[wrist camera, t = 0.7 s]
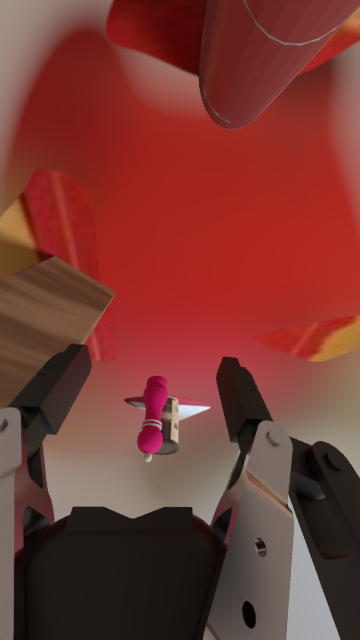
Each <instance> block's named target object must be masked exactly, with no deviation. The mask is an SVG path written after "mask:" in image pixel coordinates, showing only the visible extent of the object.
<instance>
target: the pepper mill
mask: <svg viewBox="0 0 360 640" xmlns="http://www.w3.org/2000/svg"><path fill="white" fill-rule="evenodd" d="M166 388H167V381H166V379H165V378H163V377H161V376H153V377H150V378H149V379H148V381H147V388H146V389H145V390H144V395H143V399H144V404H145V408H146V417H145V420H144V421H143V424H142V431H141V432H140V434H139V436H138V440H137V444H138V448H139V449H140V451H142V452H143V453H145V455H144V460H145V461H146V462H149V461H150V460H151V459H152V454H153V453H155V452H157V451H158V450H159V449H160V447H161V445H162V441H163V436H162V433H161V432H160V430H161V426H162V423H161V422H160V417H161V412H162V409H163V407H164V405H165V403H166V401H167V398H168V392H167V390H166Z"/></svg>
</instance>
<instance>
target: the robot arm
mask: <svg viewBox="0 0 360 640" xmlns="http://www.w3.org/2000/svg"><path fill="white" fill-rule="evenodd" d="M359 7H360V0H208V1H207V8H206V15H205V22H204V29H203V36H202V43H201V50H200V58H199V73H198V74H199V88H200V92H201V97H202V101H203V104H204V106H205V109H206V111H207V112H208V114H209V116H210V117H211V119H212V120H213V121H214V122H215V123H216V124H217V125H219V126H221V127H223V128H225V129H230V130H233V129H240V128H242V127H245V126H247V125H248V124H250V123H251V122H252V121H254V120H255V119H256V118H257V117H258V116H259V115H260V114H261V112H262V111H263V110H264V109H265V108H266V107H267V106H268V105H269V104H270V103H271V102H272V101H273V100H274V99H275V98H276V97H277V96H278V95H279V93H280V92H281V91H282V90H283V89H284V88H285V87H286V86H287V85H288V84H289V83H290V82H291V81H292V80H293V78H294V77H295V76H296V75H297V74H298V73H299V72H300V71H301V70H302V69H303V68H304V67H305V65H306V64H307V63H308V62H309V61H310V60H311V59H312V58H313V57H314V56H315V55H316V54H317V52H318V51H319V50H320V49H321V48H322V47H323V46H324V45H325V44H326V43H327V42H328V41H329V40H330V38H331V37H332V36H333V35H334V34H335V33H336V32H337V31H338V30H339V29H340V28H341V27H342V25H343V24H344V23H345V22H346V21H347V20H348V19H349V18H350V17H351V16H352V15H353V14H354V12H355V11H356V10H357V9H358V8H359ZM91 367H92V363H91V358H90V354H89V350H88V346H87V345H84V344H70V345H69V346H68V347H67V349H66V350H65V351H64V352H59V353H57V354H56V355H54V356H53V357H51V358H50V359H49V360H48V361H47V362H46V363H45V364H44V365H43V367H42V369H40V370H39V371H38V372H37V373H36V376H34V377H33V378H32V379H31V380H30V381H29V383H28V384H27V385H26V386H25V387H24V388H23V389H22V391H21V392H20V393H19V394H18V395H17V396H16V397H15V399H14V400H13V401H12V402H11V403H10V404H9V405H8V406H7V407H6V408H3V409H0V640H286V632H287V618H288V603H289V590H290V577H291V562H292V548H293V535H294V517H293V513H292V511H291V510H290V509H289V507H288V501H287V500H288V494H289V497H290V500H291V503H292V505H293V508H294V511H295V514H296V516H297V519H298V522H299V525H300V528H301V531H302V533H303V536H304V539H305V541H306V544H307V547H308V550H309V553H310V556H311V558H312V561H313V564H314V566H315V569H316V572H317V575H318V578H319V581H320V583H321V586H322V589H323V592H324V595H325V598H326V600H327V603H328V606H329V609H330V611H331V614H332V617H333V620H334V623H335V625H336V628H337V631H338V634H339V637H340V639H341V640H360V478H359V476H358V475H357V473H356V472H355V470H354V469H353V467H352V465H351V464H350V462H349V461H348V460H347V458H346V457H345V456H344V455H343V454H342V453H341V452H340V451H339V450H338V449H337V448H335V447H334V446H332V445H330V444H329V443H326V442H323V441H318V442H316V443H314V444H313V445H309V444H307V443H304V442H302V441H299V440H297V439H294V438H292V437H289V436H288V434H287V433H286V432H285V430H284V429H283V428H281V427H280V426H279V425H278V424H276V423H274V422H273V420H272V418H271V416H270V414H269V411H268V409H267V407H266V405H265V403H264V401H263V398H262V396H261V394H260V392H259V391H258V388H257V385H256V384H255V381H254V379H253V377H252V375H251V373H250V372H249V371H248V370H247V369H246V368H245V367H241V366H240V364H239V362H238V359H237V358H233V357H223V358H222V361H221V364H220V366H219V369H218V372H217V377H216V380H217V386H218V391H219V395H220V399H221V403H222V408H223V411H224V416H225V420H226V425H227V428H228V433H229V437H230V441H231V442H236V443H238V444H239V448H240V450H239V452H238V455H237V457H236V460H235V463H234V466H233V469H232V472H231V475H230V477H229V480H228V483H227V486H226V489H225V491H224V493H223V496H222V497H221V499H220V502H219V503H218V506H217V508H216V511H215V513H214V516H213V519H212V522H211V524H210V526H209V525H208V524H207V523H206V522H205V521H204V520H202V519H201V518H199V517H197V516H195V515H193V513H192V507H163V508H160V509H158V510H155V511H153V512H150V513H148V514H145V515H143V516H140V517H137V518H134V519H132V518H128V517H126V516H124V515H122V514H119V513H117V512H115V511H112V510H110V509H108V508H105V507H73V508H72V511H71V514H70V515H68V516H66V517H64V518H62V519H60V520H58V521H56V522H55V521H54V520H55V519H54V511H53V505H52V501H51V498H50V495H49V493H48V488H47V481H46V471H45V463H44V453H43V444H42V442H43V440H44V438H45V437H46V435H47V434H54V435H56V434H57V433H58V431H59V429H60V427H61V425H62V423H63V421H64V420H65V418H66V416H67V414H68V412H69V411H70V408H71V407H72V405H73V403H74V401H75V400H76V398H77V395H78V394H79V392H80V390H81V388H82V386H83V385H84V383H85V381H86V379H87V377H88V376H89V374H90V371H91Z"/></svg>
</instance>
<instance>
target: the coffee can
mask: <svg viewBox="0 0 360 640" xmlns="http://www.w3.org/2000/svg"><path fill="white" fill-rule="evenodd" d="M178 403H179V402H178V400H177V399H176V398H175V397H173V396H169V395H168V398H167V401H166V403H165V405H164V407H163V409H162V412H161V417H160V422H161V423H162V426H161V430H160V432H161V433H162V436H163V441H162V445H161V447H160V449H159V450H158V451H157V452H155V453H153V454H156V455H169V454H173V453H175V452H177V451H178Z"/></svg>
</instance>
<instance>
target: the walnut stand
mask: <svg viewBox="0 0 360 640" xmlns="http://www.w3.org/2000/svg"><path fill="white" fill-rule="evenodd" d="M115 293H116V292H115V291H113V290H111V289H109V288H107V287H106V286H105V285H103V284H101V283H100V282H98V281H96V280H95V279H93V278H91V277H90V276H88V275H86V274H85V273H83V272H81V271H80V270H78V269H76V268H75V267H73V266H71V265H69V264H68V263H66V262H64V261H63V260H61V259H59V258H58V257H56V256H54V257H52V258H49V259H47V260H45V261H43V262H40V263H38V264H36V265H33V266H31V267H29V268H27V269H24V270H22V271H20V272H17V273H15V274H13V275H11V276H8V277H6V278H4V279H1V280H0V409H3V408H6V407H7V406H8V405H9V404H10V403H11V402H12V401H13V400H14V399H15V397H16V396H17V395H18V394H19V393H20V392H21V391H22V389H23V388H24V387H25V386H26V385H27V384H28V383H29V381H30V380H31V379H32V378H33V377H34V376H36V373H37V372H38V371H39V370H40V369H42V367H43V365H44V364H45V363H46V362H47V361H48V360H49V359H50V358H51V357H53V356H54V355H56V354H57V353H59V352H64V351H65V350H66V349H67V347H68V346H69V345H70V344H84V343H85V342H86V340H87V339H88V337H89V336H90V334H91V333H92V331H93V330H94V328H95V327H96V325H97V323H98V322H99V320H100V318H101V317H102V315H103V313H104V312H105V310H106V308H107V307H108V305H109V303H110V302H111V300H112V298H113V297H114V295H115Z"/></svg>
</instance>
